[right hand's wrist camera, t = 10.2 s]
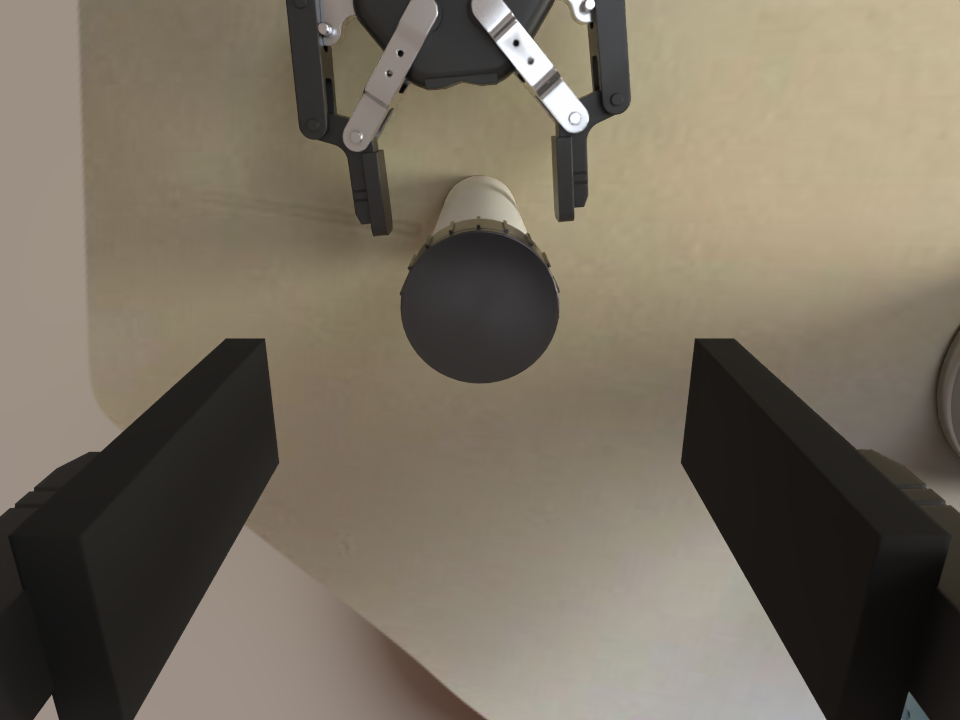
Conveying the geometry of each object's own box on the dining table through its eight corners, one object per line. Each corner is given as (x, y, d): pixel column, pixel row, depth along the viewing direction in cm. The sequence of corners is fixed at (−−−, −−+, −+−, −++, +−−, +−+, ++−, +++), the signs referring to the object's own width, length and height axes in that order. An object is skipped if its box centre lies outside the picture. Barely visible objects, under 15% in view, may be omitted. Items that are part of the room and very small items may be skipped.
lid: (377, 301, 22) (366, 322, 20) (469, 183, 21) (467, 192, 19) (489, 386, 23) (490, 415, 21) (583, 279, 22) (595, 297, 20)
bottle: (428, 218, 39) (382, 315, 20) (474, 159, 37) (469, 207, 19) (485, 264, 39) (489, 395, 21) (531, 207, 38) (578, 296, 20)
